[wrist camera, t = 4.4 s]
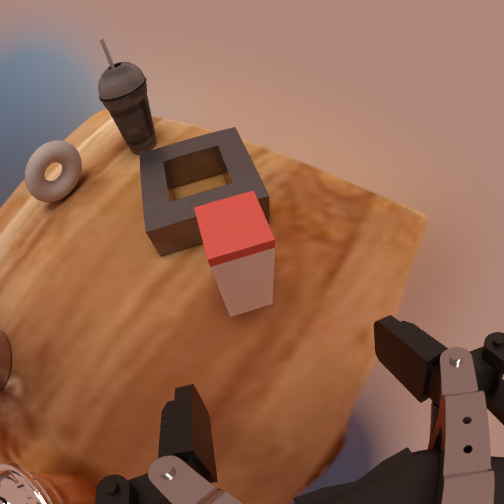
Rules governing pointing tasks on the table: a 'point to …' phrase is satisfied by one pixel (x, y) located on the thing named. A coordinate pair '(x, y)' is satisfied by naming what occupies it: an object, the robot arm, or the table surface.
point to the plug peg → (239, 251)
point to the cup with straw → (43, 487)
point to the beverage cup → (128, 103)
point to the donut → (42, 160)
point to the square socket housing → (187, 171)
